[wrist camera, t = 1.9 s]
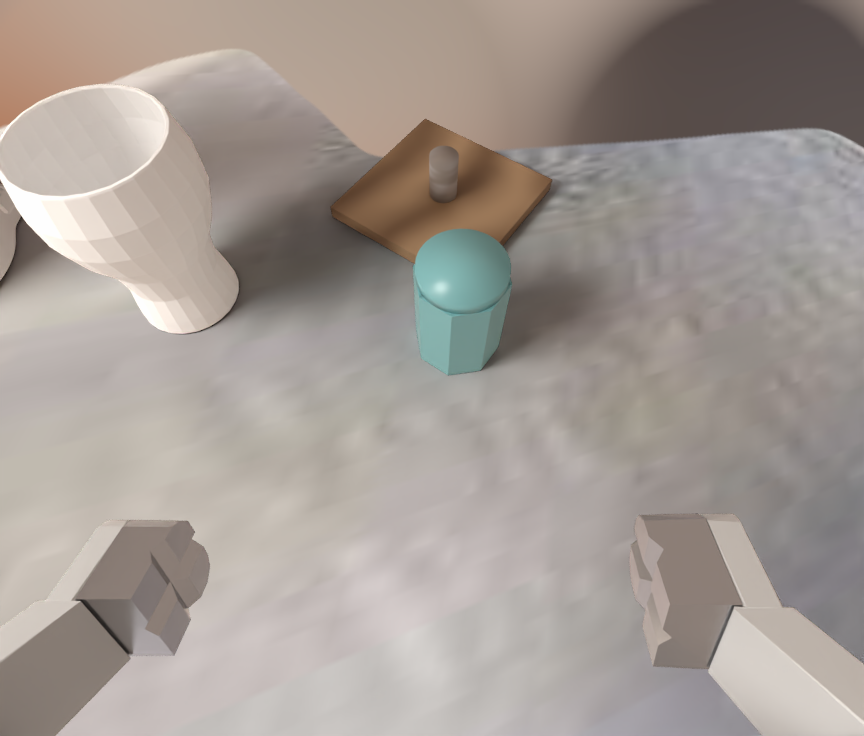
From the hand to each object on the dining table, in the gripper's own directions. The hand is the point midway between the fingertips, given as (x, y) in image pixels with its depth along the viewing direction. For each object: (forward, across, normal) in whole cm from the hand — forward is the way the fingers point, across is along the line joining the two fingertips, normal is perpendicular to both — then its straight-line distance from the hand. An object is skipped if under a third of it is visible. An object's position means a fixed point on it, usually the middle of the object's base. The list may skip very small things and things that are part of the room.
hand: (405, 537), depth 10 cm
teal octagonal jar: (+29, +1, +14) cm, 32 cm away
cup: (+31, +22, +10) cm, 40 cm away
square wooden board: (+41, +2, +7) cm, 42 cm away
